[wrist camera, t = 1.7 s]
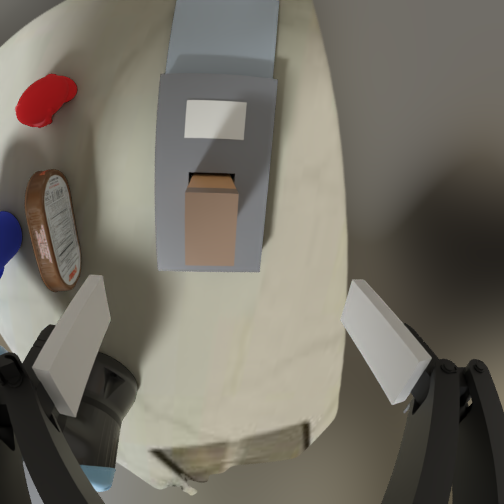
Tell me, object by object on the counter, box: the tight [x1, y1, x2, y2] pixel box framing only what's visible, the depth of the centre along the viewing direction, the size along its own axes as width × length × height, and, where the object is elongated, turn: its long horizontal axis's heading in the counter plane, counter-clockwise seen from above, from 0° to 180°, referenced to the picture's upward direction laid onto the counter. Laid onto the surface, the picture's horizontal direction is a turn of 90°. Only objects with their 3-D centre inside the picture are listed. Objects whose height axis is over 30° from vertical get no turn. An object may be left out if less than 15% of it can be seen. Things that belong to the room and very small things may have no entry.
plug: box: [185, 172, 239, 266], centre depth 27 cm, size 4×6×12 cm, turn 175°
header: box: [155, 73, 278, 272], centre depth 29 cm, size 12×22×4 cm, turn 175°
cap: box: [15, 74, 77, 128], centre depth 22 cm, size 8×6×6 cm
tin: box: [25, 169, 81, 292], centre depth 27 cm, size 15×3×8 cm, turn 0°
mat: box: [165, 0, 279, 79], centre depth 24 cm, size 12×12×1 cm
